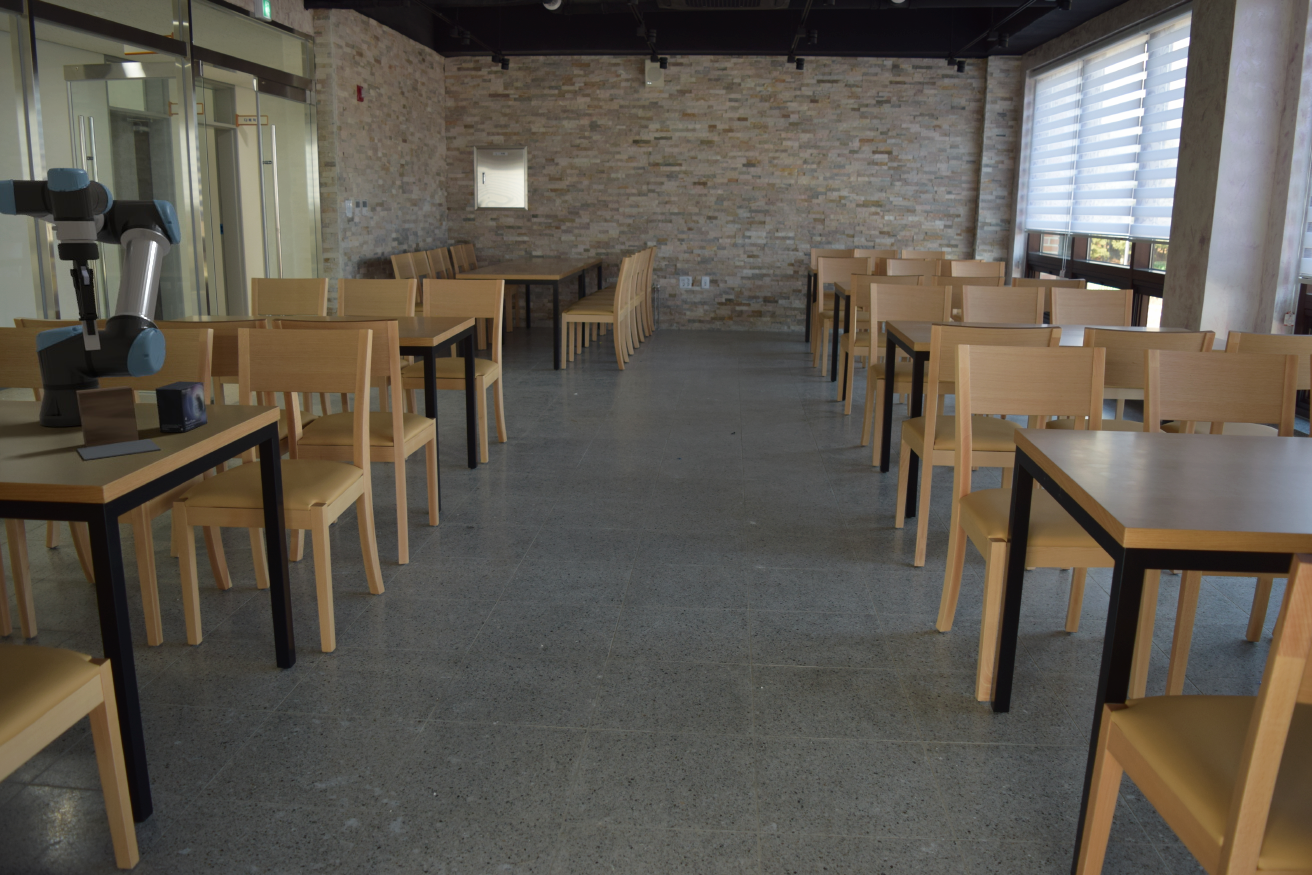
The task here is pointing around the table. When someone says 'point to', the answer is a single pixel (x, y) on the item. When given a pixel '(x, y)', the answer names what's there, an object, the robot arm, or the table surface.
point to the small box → (181, 406)
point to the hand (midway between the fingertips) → (93, 349)
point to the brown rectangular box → (107, 415)
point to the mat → (117, 449)
